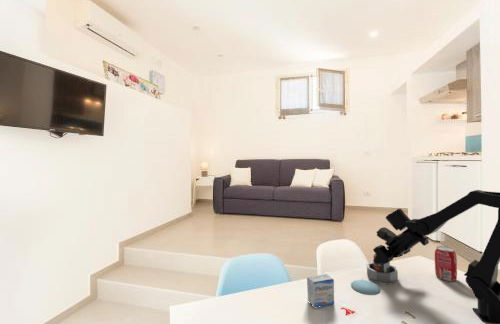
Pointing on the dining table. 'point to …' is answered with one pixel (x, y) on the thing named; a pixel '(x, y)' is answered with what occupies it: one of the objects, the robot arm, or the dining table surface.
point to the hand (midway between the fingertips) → (378, 260)
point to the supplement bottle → (381, 266)
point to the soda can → (445, 263)
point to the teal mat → (365, 287)
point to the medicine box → (320, 290)
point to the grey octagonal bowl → (382, 274)
